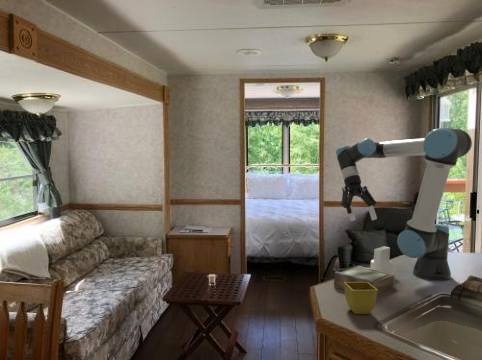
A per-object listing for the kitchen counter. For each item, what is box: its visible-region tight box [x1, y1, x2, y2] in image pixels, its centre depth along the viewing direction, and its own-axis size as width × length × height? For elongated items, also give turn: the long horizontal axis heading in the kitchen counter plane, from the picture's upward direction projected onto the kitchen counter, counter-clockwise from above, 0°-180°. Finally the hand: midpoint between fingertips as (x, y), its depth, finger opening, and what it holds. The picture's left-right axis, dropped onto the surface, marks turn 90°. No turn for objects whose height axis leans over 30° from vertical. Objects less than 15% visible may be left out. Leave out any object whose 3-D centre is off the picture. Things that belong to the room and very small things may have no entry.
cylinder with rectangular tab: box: [370, 245, 393, 274], centre depth 184 cm, size 9×9×12 cm
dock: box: [333, 265, 395, 296], centre depth 168 cm, size 16×19×6 cm
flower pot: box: [344, 282, 378, 315], centre depth 143 cm, size 9×9×9 cm
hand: (364, 220), depth 193 cm, fingers open, 13 cm apart
